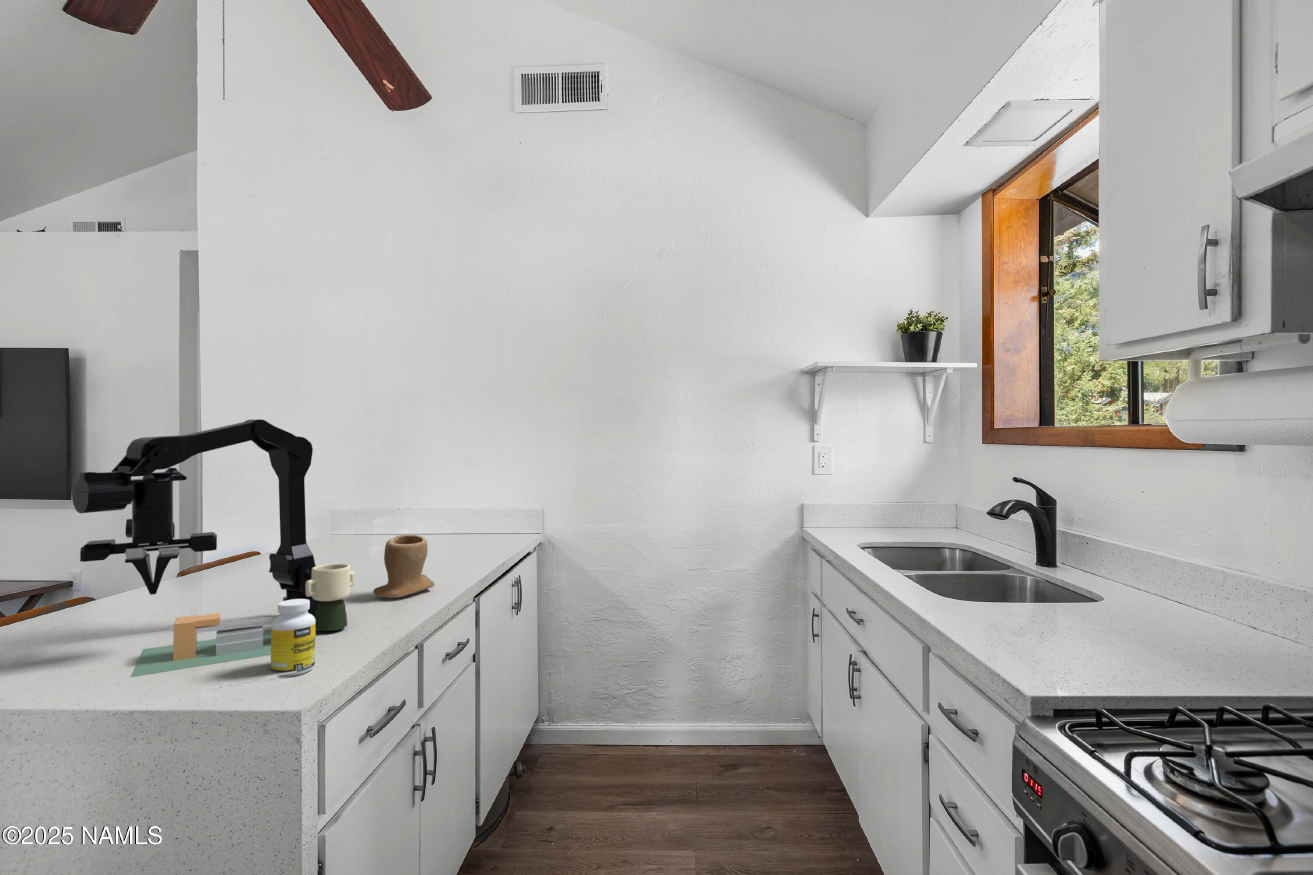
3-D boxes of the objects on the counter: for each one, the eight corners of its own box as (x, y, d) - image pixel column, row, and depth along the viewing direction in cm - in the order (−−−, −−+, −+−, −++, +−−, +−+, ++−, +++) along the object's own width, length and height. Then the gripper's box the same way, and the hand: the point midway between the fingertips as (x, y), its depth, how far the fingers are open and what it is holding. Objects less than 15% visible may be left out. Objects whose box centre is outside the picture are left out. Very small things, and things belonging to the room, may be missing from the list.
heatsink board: (290, 633, 126) (290, 600, 126) (296, 656, 112) (296, 620, 112) (143, 654, 113) (143, 618, 113) (130, 683, 100) (131, 642, 100)
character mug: (342, 621, 134) (342, 560, 134) (365, 625, 131) (365, 563, 131) (293, 635, 124) (294, 570, 125) (317, 640, 121) (318, 573, 121)
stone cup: (400, 603, 149) (400, 541, 149) (366, 598, 154) (366, 537, 154) (447, 590, 162) (447, 532, 162) (414, 585, 168) (414, 529, 168)
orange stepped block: (220, 646, 115) (220, 612, 115) (219, 653, 110) (219, 618, 111) (175, 652, 111) (176, 617, 111) (173, 660, 107) (173, 624, 107)
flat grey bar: (284, 619, 120) (284, 613, 120) (285, 624, 117) (285, 618, 117) (196, 629, 112) (196, 622, 112) (195, 634, 109) (195, 627, 109)
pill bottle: (283, 681, 101) (283, 609, 101) (262, 673, 104) (263, 603, 104) (323, 668, 106) (323, 600, 106) (302, 661, 110) (302, 595, 110)
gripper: (217, 500, 124) (217, 578, 124) (91, 506, 113) (91, 592, 113) (216, 505, 114) (216, 590, 114) (79, 512, 104) (79, 606, 104)
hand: (153, 594), depth 112 cm, fingers closed
